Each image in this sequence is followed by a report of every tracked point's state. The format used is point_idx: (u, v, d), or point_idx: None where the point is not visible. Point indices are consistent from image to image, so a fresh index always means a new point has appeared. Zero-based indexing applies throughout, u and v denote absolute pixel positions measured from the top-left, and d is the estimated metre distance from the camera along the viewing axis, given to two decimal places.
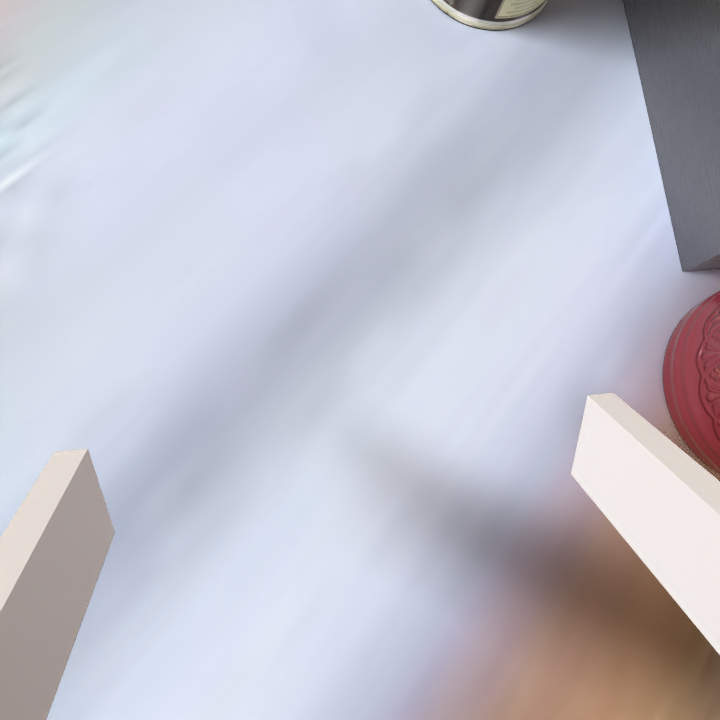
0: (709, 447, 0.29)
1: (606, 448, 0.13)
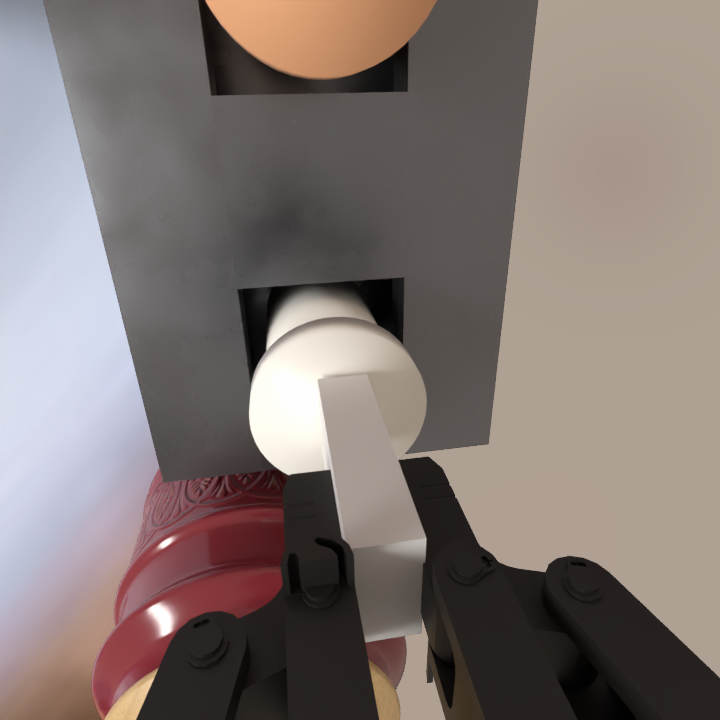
0: None
1: None
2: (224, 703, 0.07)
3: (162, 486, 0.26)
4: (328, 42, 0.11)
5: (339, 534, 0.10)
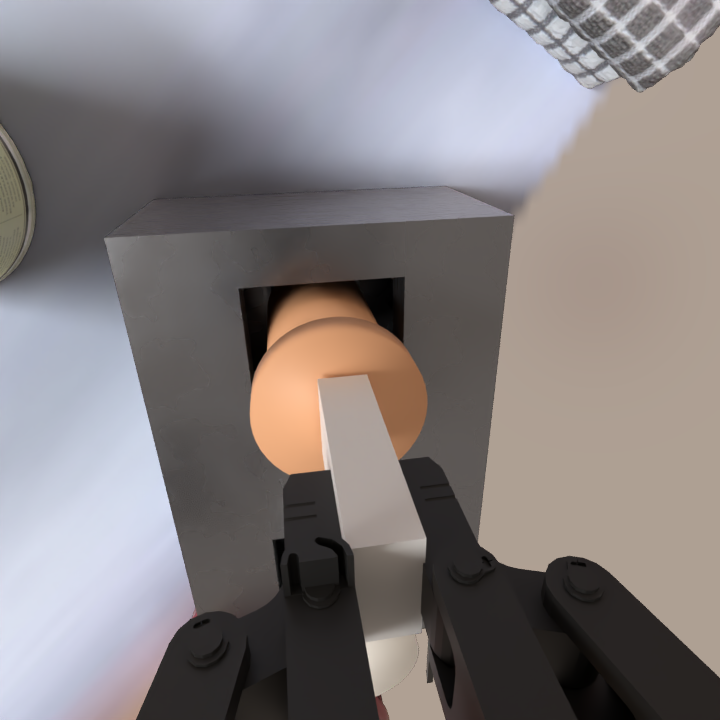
0: None
1: None
2: (224, 703, 0.07)
3: None
4: None
5: (339, 534, 0.10)
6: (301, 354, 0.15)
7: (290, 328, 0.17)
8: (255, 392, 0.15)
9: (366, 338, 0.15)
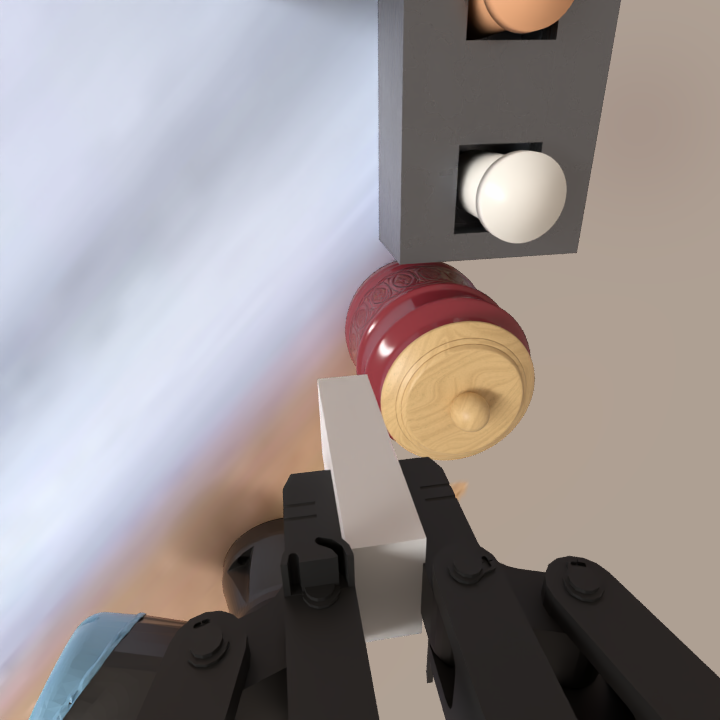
0: None
1: None
2: (224, 703, 0.07)
3: (370, 293, 0.42)
4: (532, 17, 0.29)
5: (339, 534, 0.10)
6: None
7: None
8: None
9: None
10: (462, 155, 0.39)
